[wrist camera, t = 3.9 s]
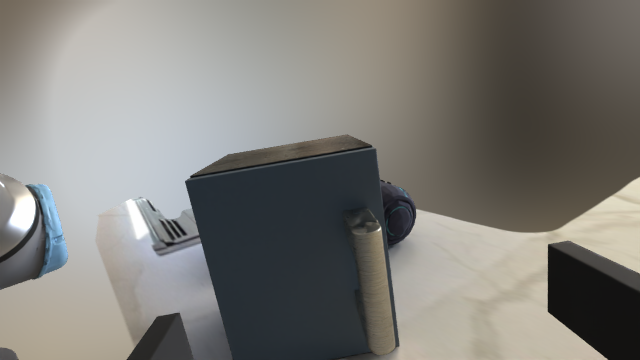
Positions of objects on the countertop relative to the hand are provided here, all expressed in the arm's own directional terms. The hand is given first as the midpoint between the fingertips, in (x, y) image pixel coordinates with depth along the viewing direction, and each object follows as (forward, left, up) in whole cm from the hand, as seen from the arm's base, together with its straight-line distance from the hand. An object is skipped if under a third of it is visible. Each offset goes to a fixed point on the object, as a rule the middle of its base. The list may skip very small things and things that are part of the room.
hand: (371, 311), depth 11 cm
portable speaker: (+8, +46, -17) cm, 50 cm away
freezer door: (-3, +13, -16) cm, 21 cm away
